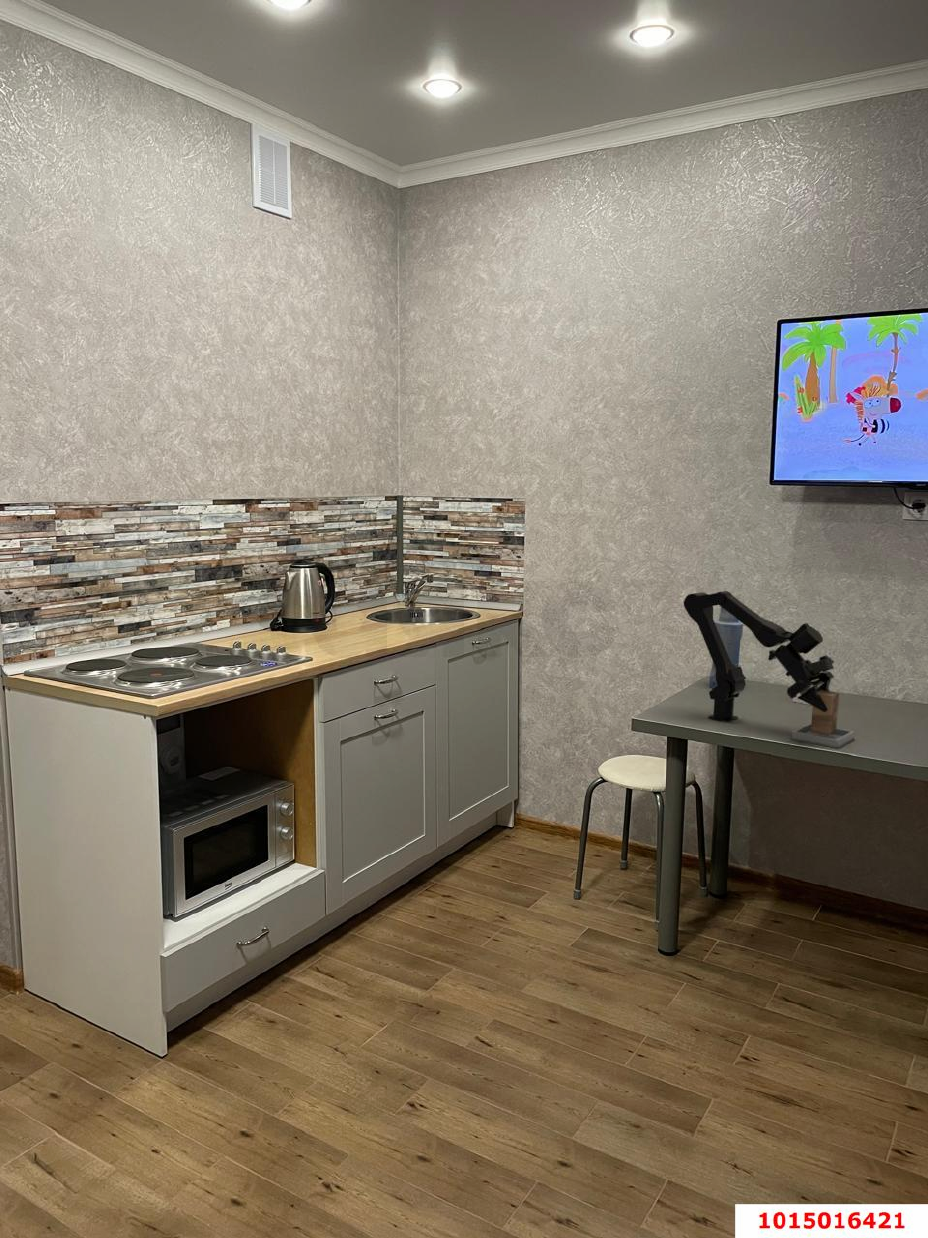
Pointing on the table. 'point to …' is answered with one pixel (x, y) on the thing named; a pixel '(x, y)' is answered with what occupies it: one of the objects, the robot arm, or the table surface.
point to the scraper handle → (825, 714)
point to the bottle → (728, 639)
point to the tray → (823, 737)
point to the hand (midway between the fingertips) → (830, 709)
